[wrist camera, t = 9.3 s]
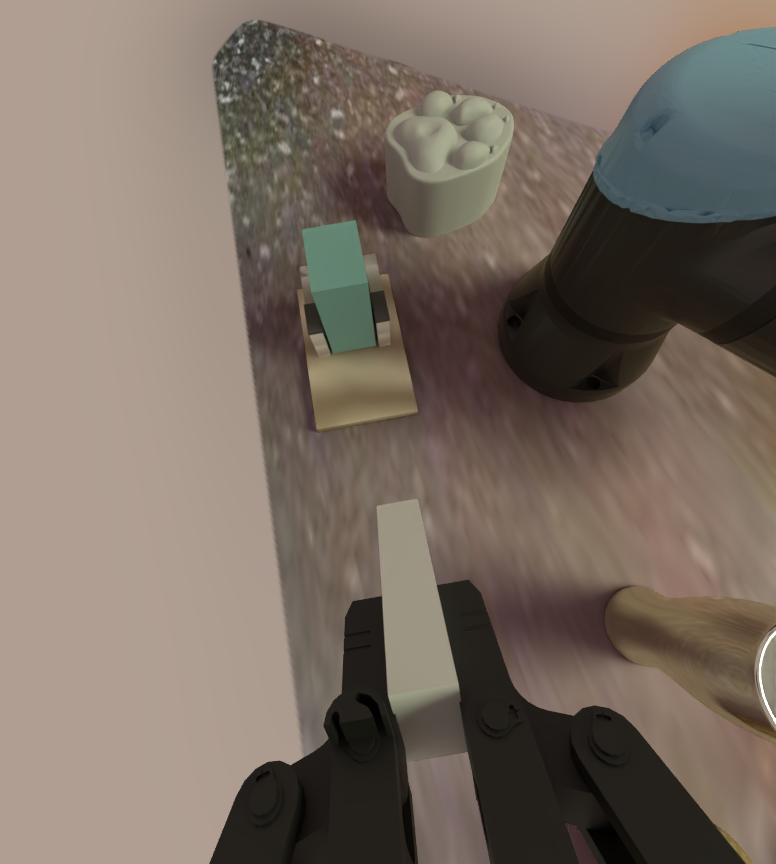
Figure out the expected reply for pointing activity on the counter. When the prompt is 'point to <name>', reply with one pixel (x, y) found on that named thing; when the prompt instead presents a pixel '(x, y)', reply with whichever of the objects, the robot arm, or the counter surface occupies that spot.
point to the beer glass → (704, 650)
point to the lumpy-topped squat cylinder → (446, 161)
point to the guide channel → (357, 362)
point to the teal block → (340, 285)
